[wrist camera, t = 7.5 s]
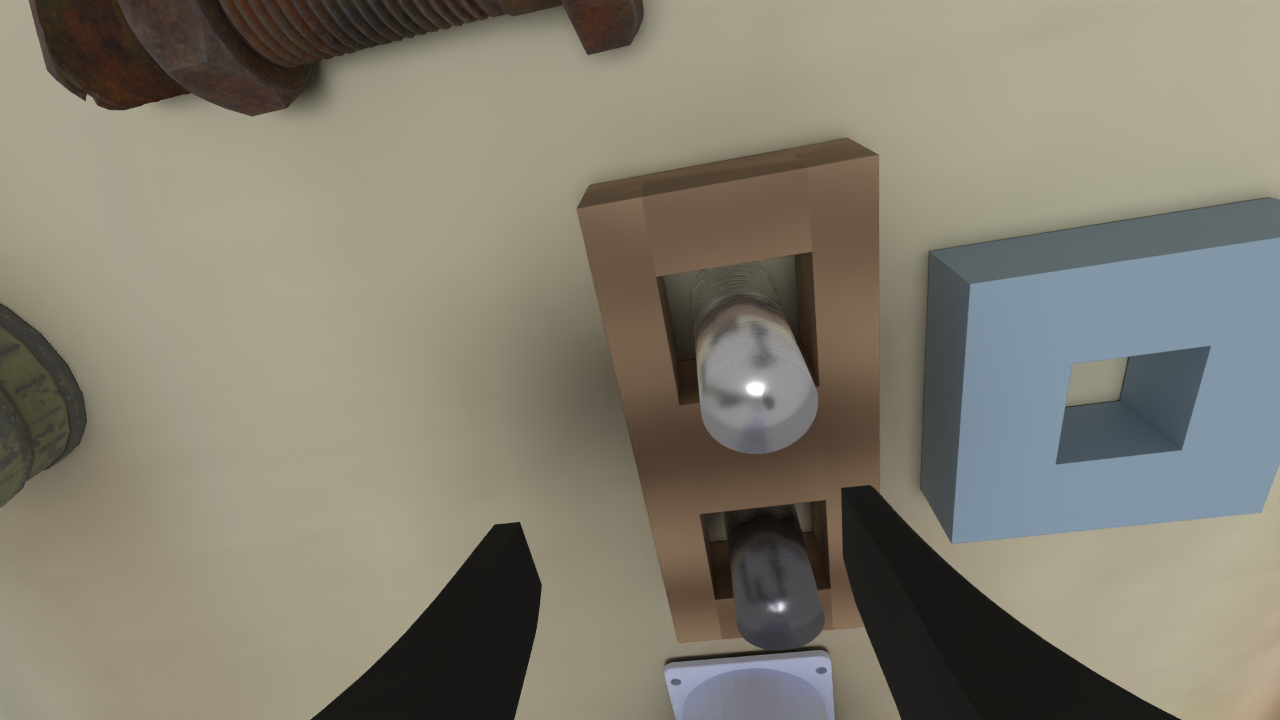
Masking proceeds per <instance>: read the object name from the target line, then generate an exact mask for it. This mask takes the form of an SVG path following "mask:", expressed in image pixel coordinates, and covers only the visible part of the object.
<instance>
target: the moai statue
mask: <svg viewBox="0 0 1280 720" xmlns="http://www.w3.org/2000/svg"><path fill="white" fill-rule="evenodd" d="M85 425H86V417H85V410H84V403H83V396H82V393H81V391H80V389H79V388H78V386H77V384H76V382H75V380H74V378H73V376H72V374H71V372H70V370H69V368H68V366H67V364H66V363H65V362H64V361H63V360H62V359H61V357H60V356H59V355H58V354H57V353H56V352H55V350H54V349H53V348H52V347H51V346H50V345H49V343H48V342H47V341H46V340H45V339H44V338H43V336H42V335H41V334H40V333H38V332H37V331H36V330H34V329H33V328H32V327H31V326H29V325H28V324H27V323H25V322H24V321H23V320H22V319H20V318H19V317H18V316H17V315H15V314H14V313H13V312H11V311H10V310H9V309H8V308H6V307H5V306H3V305H1V304H0V507H2V506H3V505H5V504H6V503H7V502H8V501H9V500H10V499H11V498H13V497H14V496H15V495H16V494H17V493H18V492H19V491H20V490H22V489H23V487H24V484H25V482H26V481H28V480H29V479H31V478H32V477H33V476H35V475H36V474H38V473H39V472H41V471H42V470H45V469H48V468H50V467H52V466H53V465H54V464H56V463H57V462H59V461H60V460H62V459H63V458H64V457H65V456H66V455H67V454H69V453H70V452H71V451H72V450H73V449H74V448H75V447H76V446H78V445H79V443H80V440H81V437H82V434H83V431H84V428H85Z"/></svg>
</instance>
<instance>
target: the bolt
mask: <svg viewBox="0 0 1280 720" xmlns="http://www.w3.org/2000/svg"><path fill="white" fill-rule="evenodd" d="M29 3H30V7H31V11H32V15H33V19H34V23H35V27H36V31H37V35H38V38H39V42H40V46H41V50H42V53H43V57H44V61H45V64H46V68H47V71H48V72H49V73H50V74H51V75H52V76H53V77H54V78H55V79H56V80H57V81H58V82H59V83H61V84H62V85H63V86H64V87H65V88H67V89H68V90H69V91H70V92H72V93H73V94H75V95H77V96H78V97H80V98H81V99H83V100H85V101H86V96H87V94H88V95H90V96H91V97H93V99H94V101H95V102H96V104H97V106H100V107H103V108H106V109H108V110H127V109H130V108H135V107H138V106H142V105H144V104H147V103H150V102H158V101H160V100H163V99H167V98H171V97H175V96H179V95H182V94H189V93H193V94H194V95H196V96H198V97H200V98H202V99H204V100H207V101H209V102H211V103H214V104H216V105H218V106H221V107H223V108H225V109H229V110H232V111H236V112H239V113H242V114H246V115H249V116H256V115H260V114H264V113H268V112H272V111H276V110H281V109H285V108H287V107H288V106H289V105H290V104H291V103H292V102H293V101H294V100H295V98H296V97H297V96H298V95H299V94H300V93H301V91H302V90H303V88H304V87H305V85H306V83H307V82H308V80H309V79H310V76H311V73H312V69H313V62H317V61H321V60H322V59H329V58H333V57H334V56H342V55H343V54H345V53H353V52H355V51H357V50H362V49H365V48H368V47H369V48H370V47H374V46H377V45H380V44H381V45H382V44H387V43H391V42H392V41H401V40H402V39H403V38H404V37H407V38H413V37H414V36H415V35H416V34H417V35H420V34H426V33H427V32H428V31H429V32H435V31H438V30H439V29H440V28H442V29H449V28H450V27H451V26H452V25H454V26H461V25H462V24H463V23H464V22H465V23H470V22H473V21H476V20H477V19H478V20H483V19H487V18H488V16H492V17H495V16H500V15H505V14H509V15H511V16H516V15H521V14H525V13H529V12H533V11H538V10H542V9H546V8H551V7H555V6H559V5H564V8H565V10H566V12H567V14H568V16H569V18H570V20H571V22H572V24H573V26H574V28H575V30H576V32H577V35H578V37H579V39H580V41H581V43H582V45H583V47H584V49H585V51H586V53H587V54H588V55H591V54H595V53H599V52H603V51H607V50H611V49H615V48H619V47H624V46H628V45H630V44H631V42H632V41H633V39H634V37H635V35H636V34H637V32H638V30H639V28H640V25H641V22H642V20H643V3H642V0H29Z"/></svg>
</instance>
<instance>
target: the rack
mask: <svg viewBox="0 0 1280 720" xmlns="http://www.w3.org/2000/svg"><path fill="white" fill-rule="evenodd" d="M577 212H578V216H579V221H580V225H581V229H582V233H583V238H584V242H585V246H586V251H587V255H588V259H589V263H590V268H591V272H592V276H593V281H594V285H595V289H596V293H597V298H598V302H599V306H600V311H601V315H602V319H603V323H604V328H605V332H606V336H607V341H608V345H609V349H610V353H611V358H612V362H613V366H614V370H615V375H616V379H617V383H618V388H619V392H620V396H621V400H622V405H623V409H624V413H625V418H626V422H627V426H628V430H629V435H630V439H631V443H632V448H633V452H634V456H635V460H636V465H637V469H638V473H639V478H640V482H641V486H642V490H643V495H644V499H645V503H646V508H647V512H648V516H649V520H650V525H651V529H652V533H653V538H654V542H655V546H656V550H657V555H658V559H659V563H660V568H661V572H662V576H663V580H664V585H665V589H666V593H667V598H668V602H669V606H670V610H671V615H672V619H673V623H674V627H675V632H676V636H677V640H678V643H685V642H696V641H708V640H719V639H730V638H742V635H741V634H740V632H739V630H738V627H737V620H736V611H735V603H734V594H733V586H732V578H731V569H730V561H729V552H728V544H727V541H724V542H715V543H710V539H709V534H708V528H707V522H706V517H705V514H706V513H715V512H724V511H732V510H741V509H750V508H759V507H768V506H777V505H786V504H795V503H803V502H812V512H813V527H814V532H809V533H802V535H803V538H804V542H805V546H806V549H807V553H808V557H809V560H810V564H811V568H812V571H813V575H814V579H815V582H816V586H817V590H818V593H819V597H820V601H821V604H822V608H823V612H824V616H825V623H824V626H823V629H822V630H834V629H845V628H857V627H865V626H864V623H863V621H862V618H861V616H860V613H859V611H858V608H857V606H856V603H855V600H854V596H853V593H852V589H851V586H850V582H849V578H848V575H847V571H846V567H845V564H844V560H843V545H842V507H841V488H845V487H855V486H864V485H871V486H872V487H874V488H875V489H876V490H877V491H878V492H879V494H880V469H879V155H878V154H876V153H874V152H873V151H871V150H869V149H867V148H865V147H863V146H862V145H860V144H858V143H856V142H854V141H852V140H851V139H849V138H845V139H840V140H835V141H829V142H824V143H818V144H813V145H807V146H802V147H796V148H791V149H785V150H780V151H774V152H769V153H763V154H758V155H752V156H747V157H741V158H736V159H731V160H725V161H720V162H714V163H709V164H703V165H698V166H692V167H687V168H681V169H676V170H670V171H665V172H659V173H654V174H648V175H643V176H638V177H632V178H627V179H621V180H616V181H610V182H605V183H599V184H594V185H589V187H588V189H587V191H586V192H585V194H584V196H583V198H582V200H581V202H580V204H579V205H578V207H577ZM789 255H795V267H796V281H797V296H798V310H799V325H800V339H801V344H797V345H798V347H799V349H800V352H801V354H802V356H803V359H804V361H805V363H806V366H807V368H808V371H809V373H810V375H811V378H812V380H813V382H814V385H815V387H816V390H817V394H818V409H817V413H816V416H815V419H814V421H813V423H812V424H811V426H810V427H809V429H808V430H807V431H806V433H805V434H804V435H803V436H802V437H800V438H799V439H798V440H797V441H795V442H794V443H792V444H791V445H789V446H787V447H785V448H783V449H780V450H777V451H774V452H770V453H763V454H749V453H742V452H738V451H735V450H732V449H730V448H727V447H725V446H724V445H722V444H720V443H719V442H718V441H716V440H715V439H714V438H713V437H712V436H711V434H710V433H709V432H708V430H707V429H706V427H705V425H704V422H703V420H702V415H701V408H700V396H699V385H698V374H697V363H696V359H691V360H684V361H678V358H677V352H676V347H675V341H674V335H673V330H672V324H671V318H670V313H669V307H668V301H667V296H666V290H665V284H664V279H663V276H665V275H671V274H678V273H684V272H690V271H696V270H702V269H709V268H715V267H721V266H727V265H733V264H739V263H746V262H752V261H758V260H764V259H770V258H777V257H783V256H789ZM822 630H821V631H822Z"/></svg>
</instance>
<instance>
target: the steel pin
mask: <svg viewBox="0 0 1280 720" xmlns="http://www.w3.org/2000/svg"><path fill="white" fill-rule="evenodd" d="M691 307H692V318H693V329H694V340H695V352H696V363H697V374H698V385H699V396H700V408H701V415H702V420H703V422H704V425H705V427H706V429H707V430H708V432H709V433H710V434H711V436H712V437H713V438H714V439H715V440H716V441H718V442H719V443H720V444H722V445H724V446H725V447H727V448H730V449H732V450H735V451H738V452H742V453H749V454H763V453H770V452H774V451H777V450H780V449H783V448H785V447H787V446H789V445H791V444H792V443H794V442H795V441H797V440H798V439H799V438H800V437H802V436H803V435H804V434H805V433H806V431H807V430H808V429H809V427H810V426H811V424H812V423H813V421H814V419H815V416H816V413H817V409H818V394H817V390H816V387H815V385H814V382H813V380H812V378H811V375H810V373H809V371H808V368H807V366H806V363H805V361H804V359H803V356H802V354H801V352H800V349H799V347H798V345H797V342H796V340H795V338H794V335H793V333H792V331H791V328H790V326H789V324H788V321H787V319H786V316H785V314H784V312H783V309H782V307H781V305H780V302H779V300H778V298H777V295H776V293H775V291H774V288H773V286H772V284H771V281H770V279H769V277H768V275H767V274H766V273H765V271H764V270H763V269H762V268H761V267H759V266H758V265H756V264H755V263H753V262H746V263H739V264H733V265H727V266H721V267H715V268H709V269H704V270H703V271H702V272H701V273H700V275H699V276H698V277H697V279H696V281H695V283H694V285H693V288H692V292H691Z"/></svg>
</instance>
